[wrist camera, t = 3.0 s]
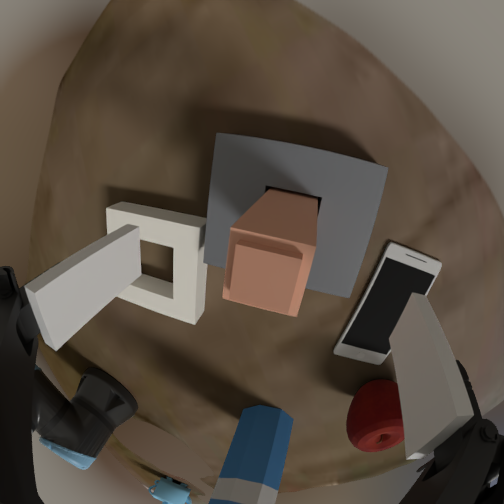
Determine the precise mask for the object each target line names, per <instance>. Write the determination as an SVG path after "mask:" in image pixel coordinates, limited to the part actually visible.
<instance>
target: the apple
mask: <svg viewBox="0 0 504 504" xmlns="http://www.w3.org/2000/svg"><path fill="white" fill-rule="evenodd" d="M346 426H347V434H348V438H349V440H350V441H351V443H352V444H353V445H354V447H356V448H358V449H360V450H361V451H364V452H377V451H382V450H385V449H388V448H391V447H393V446H395V445H397V444H399V443H400V442H402V441H403V440H404V439H405V437H404V426H403V418H402V410H401V402H400V395H399V389H398V384H397V383H396V382H393V381H390V380H385V379H378V380H373V381H370V382H368V383H366V384H365V385H363V386H362V387H361V388H360V389H359V390H358V392H357V393H356V394H355V396H354V398H353V400H352V403H351V405H350V408H349V411H348V415H347V423H346Z"/></svg>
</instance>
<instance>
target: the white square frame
mask: <svg viewBox="0 0 504 504" xmlns="http://www.w3.org/2000/svg"><path fill="white" fill-rule="evenodd" d="M106 217H107V235H108V234H110V233H111V232H113V231H115V230H117V229H119V228H121V227H123V226H124V225H126V224H131V225H135V226H139V230H140V239H142V240H146V241H149V242H153V243H157V244H161V245H165V246H169V247H173V248H174V254H173V283H171V282H167V281H164V280H161V279H158V278H155V277H152V276H148V275H145V274H142V273H141V274H142V275H141V276H139V277H138V278H137V279H136V280H135V281H133V282H132V283H131V284H130V285H129V286H128V287H126V288H125V289H124V290H123V291H122V292H121V293H119V294H118V295H117V297H119V298H122V299H124V300H127V301H129V302H132V303H134V304H137V305H140V306H142V307H145V308H148V309H150V310H153V311H156V312H159V313H161V314H164V315H167V316H170V317H173V318H176V319H179V320H182V321H185V322H188V323H191V324H194V325H195V324H196V322H197V321H198V319H199V318H200V316H201V315H202V313H203V312H204V306H205V290H206V276H207V264H205V263H203V258H204V245H205V233H206V221H207V218H204V217H199V216H194V215H189V214H184V213H179V212H175V211H170V210H165V209H159V208H154V207H149V206H144V205H139V204H134V203H128V202H123V201H122V202H119V203H117V204H114V205H112V206H109V207H107V208H106Z"/></svg>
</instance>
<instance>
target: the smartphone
mask: <svg viewBox="0 0 504 504" xmlns="http://www.w3.org/2000/svg"><path fill="white" fill-rule="evenodd" d="M441 266H442V263H441V262H440V261H438V260H436V259H433V258H431V257H428V256H426V255H424V254H421V253H419V252H416V251H414V250H411V249H409V248H406V247H404V246H401V245H399V244H396V243H394V242H390V243H388V245H387V247H386V249H385V251H384V253H383V256H382V258H381V260H380V262H379V264H378V267H377V269H376V271H375V273H374V275H373V277H372V279H371V281H370V283H369V285H368V287H367V289H366V291H365V293H364V295H363V297H362V299H361V301H360V303H359V305H358V307H357V309H356V310H355V312H354V314H353V316H352V318H351V320H350V321H349V323H348V325H347V327H346V329H345V330H344V332H343V334H342V335H341V337H340V339H339V341H338V342H337V344H336V346H335V347H334V354H336V355H340V356H344V357H347V358H351V359H355V360H359V361H364V362H368V363H372V364H376V365H380V364H381V363H382V362H383V361H384V360H385V358H386V357H387V356H388V354H389V353H390V352H391V346H390V342H389V337H390V336H391V334H392V332H393V330H394V328H395V326H396V324H397V322H398V321H399V319H400V317H401V315H402V313H403V311H404V309H405V307H406V305H407V302H408V300H409V298H410V296H411V294H412V292H413V293H417V294H421V295H427V294H428V292H429V290H430V288H431V286H432V284H433V283H434V281H435V279H436V277H437V275H438V273H439V271H440V269H441Z"/></svg>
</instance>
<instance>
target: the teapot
mask: <svg viewBox="0 0 504 504" xmlns="http://www.w3.org/2000/svg"><path fill="white" fill-rule="evenodd" d="M172 481H173V479H172V478H170V477H167V479H165V478H163V477H161V479H160V481H159V480H156V481H155V484H156V485H153V486H151V487H149V489H148V490H149V493H150V494H151V495H153V497H154V498H156V499H158V500H160V501H163V503H162V504H185V502H186V503H187V504H191V499H190V497H189V496H188V495H189V493H190V491H191V489H188V488H186V486H188V485H186V484H184V483H181V484H180V485H178V484H176V483H174V482H172ZM156 482H159V483H158V484H157V483H156ZM156 486H157V487H156ZM153 487H156V489H155V491H154V493H152V492H151V491H150V490H151V489H152V488H153Z"/></svg>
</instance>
